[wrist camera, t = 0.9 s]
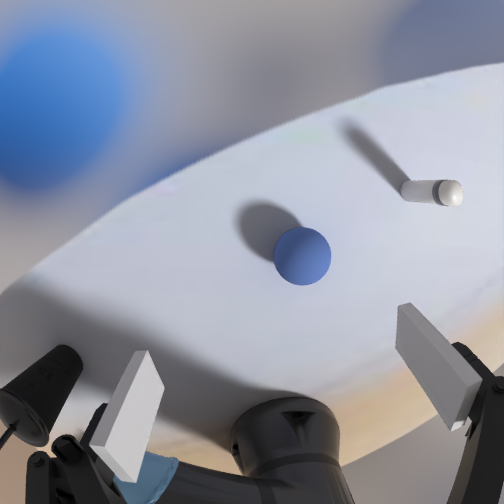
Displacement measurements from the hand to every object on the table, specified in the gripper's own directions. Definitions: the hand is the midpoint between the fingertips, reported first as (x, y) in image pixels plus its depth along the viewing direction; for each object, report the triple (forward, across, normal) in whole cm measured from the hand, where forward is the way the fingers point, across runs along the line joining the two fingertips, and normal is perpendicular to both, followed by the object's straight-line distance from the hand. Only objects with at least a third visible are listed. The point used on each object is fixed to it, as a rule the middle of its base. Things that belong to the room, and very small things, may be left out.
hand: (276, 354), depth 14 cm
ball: (+15, -4, 0) cm, 15 cm away
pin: (+19, -18, -4) cm, 26 cm away
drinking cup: (+15, +28, +9) cm, 33 cm away
